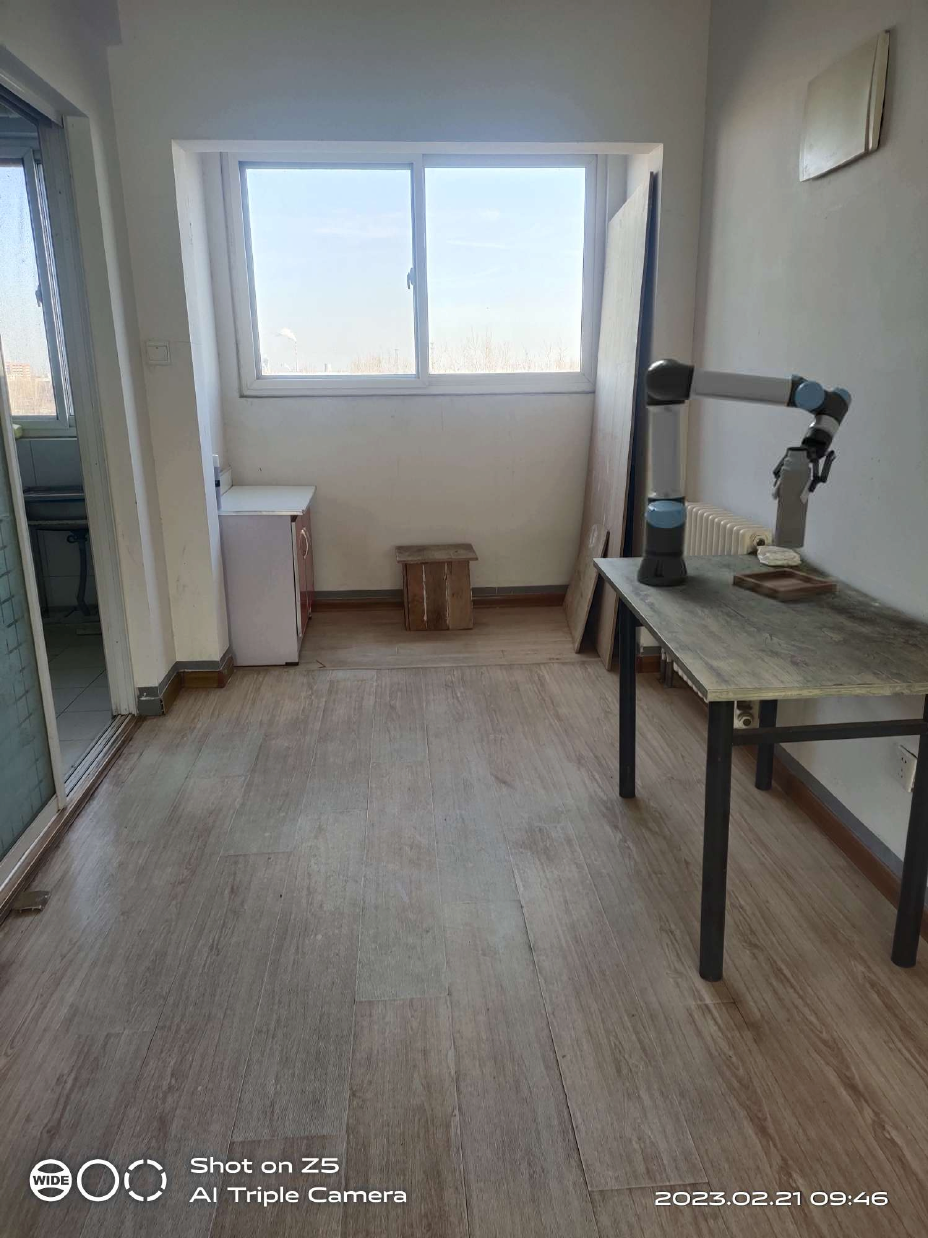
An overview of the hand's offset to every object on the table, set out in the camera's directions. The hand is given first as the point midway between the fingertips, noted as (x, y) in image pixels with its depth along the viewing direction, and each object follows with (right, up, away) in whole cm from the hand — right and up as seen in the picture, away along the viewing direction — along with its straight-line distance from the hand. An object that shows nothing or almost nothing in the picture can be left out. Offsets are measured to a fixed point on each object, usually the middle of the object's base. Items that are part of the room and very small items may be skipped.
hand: (788, 498), depth 234 cm
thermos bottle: (+3, -13, +7) cm, 15 cm away
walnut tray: (+3, -25, +10) cm, 27 cm away
